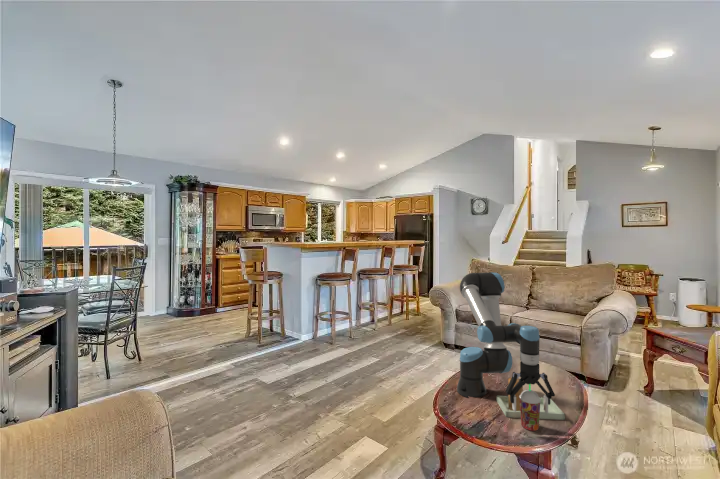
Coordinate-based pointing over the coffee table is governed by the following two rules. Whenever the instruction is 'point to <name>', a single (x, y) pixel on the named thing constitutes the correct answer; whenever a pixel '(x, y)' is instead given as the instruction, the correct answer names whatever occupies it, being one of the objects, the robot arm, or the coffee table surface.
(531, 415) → the smoothie
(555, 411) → the green divided tray
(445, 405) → the coffee table surface
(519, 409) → the tan rounded capsule
